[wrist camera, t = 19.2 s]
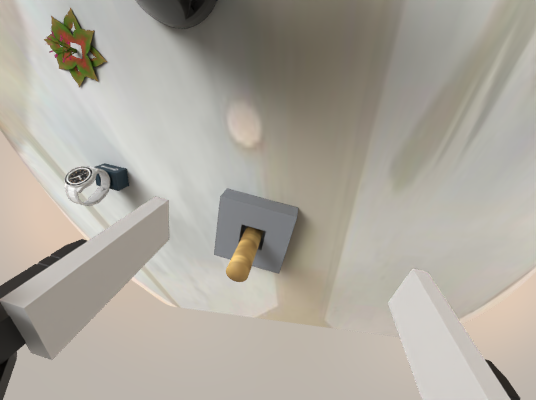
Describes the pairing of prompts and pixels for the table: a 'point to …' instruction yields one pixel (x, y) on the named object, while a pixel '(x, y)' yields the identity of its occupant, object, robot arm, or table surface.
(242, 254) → the ochre pin
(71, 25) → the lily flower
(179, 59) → the table surface
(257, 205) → the hole block
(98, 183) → the watch
